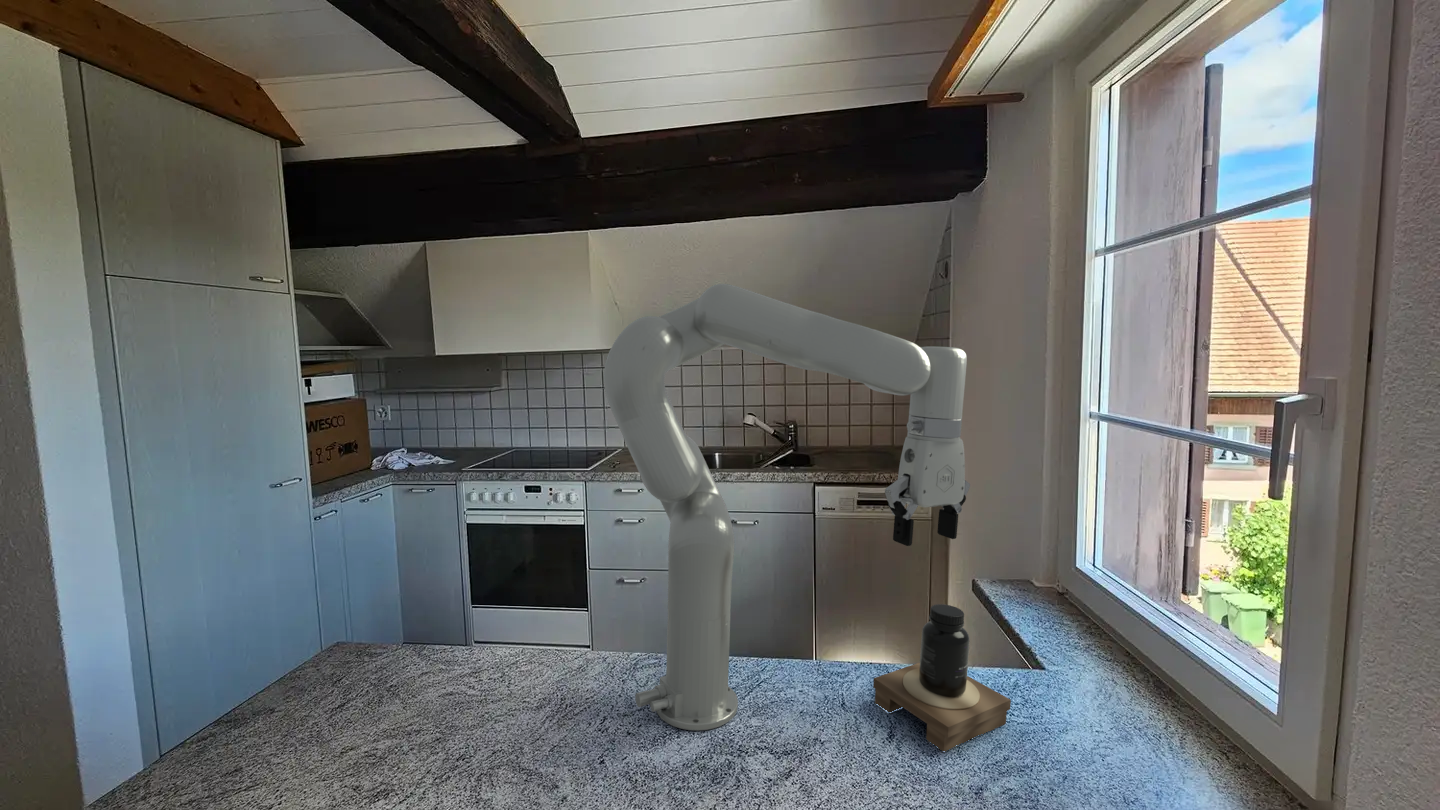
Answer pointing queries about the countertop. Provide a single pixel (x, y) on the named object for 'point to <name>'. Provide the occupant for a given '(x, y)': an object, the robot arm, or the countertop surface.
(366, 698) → the countertop surface
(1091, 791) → the countertop surface
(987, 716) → the walnut stand
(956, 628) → the supplement bottle
